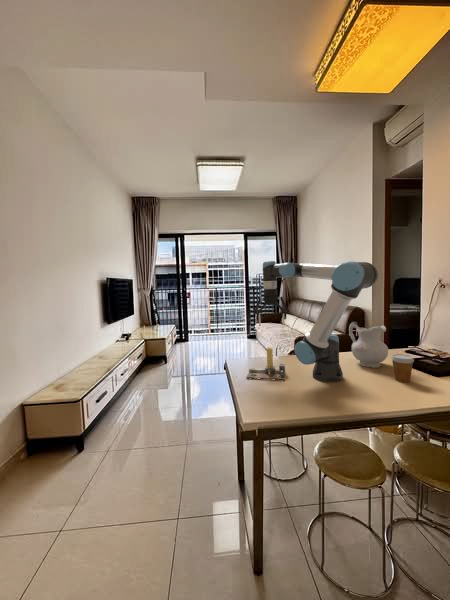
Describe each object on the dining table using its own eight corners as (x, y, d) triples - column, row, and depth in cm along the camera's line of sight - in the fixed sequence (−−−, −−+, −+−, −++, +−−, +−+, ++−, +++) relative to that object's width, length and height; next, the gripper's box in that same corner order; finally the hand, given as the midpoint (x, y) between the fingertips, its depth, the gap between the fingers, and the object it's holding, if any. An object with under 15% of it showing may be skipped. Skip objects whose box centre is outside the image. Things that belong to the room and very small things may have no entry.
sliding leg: (275, 370, 151) (274, 346, 150) (274, 376, 143) (273, 350, 142) (266, 370, 152) (265, 346, 151) (264, 375, 144) (263, 350, 143)
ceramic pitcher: (343, 366, 160) (341, 326, 157) (352, 356, 174) (351, 319, 171) (384, 373, 146) (384, 329, 142) (391, 361, 160) (390, 321, 157)
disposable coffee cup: (411, 377, 135) (411, 354, 134) (416, 384, 126) (416, 360, 126) (389, 375, 139) (389, 353, 138) (392, 382, 130) (392, 358, 130)
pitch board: (285, 372, 150) (285, 363, 150) (284, 380, 139) (284, 370, 138) (250, 371, 156) (249, 362, 155) (246, 378, 144) (246, 368, 144)
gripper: (292, 287, 154) (293, 323, 155) (249, 289, 159) (250, 324, 160) (293, 287, 147) (294, 325, 148) (247, 289, 151) (249, 326, 153)
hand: (271, 325), depth 154 cm, fingers open, 13 cm apart
